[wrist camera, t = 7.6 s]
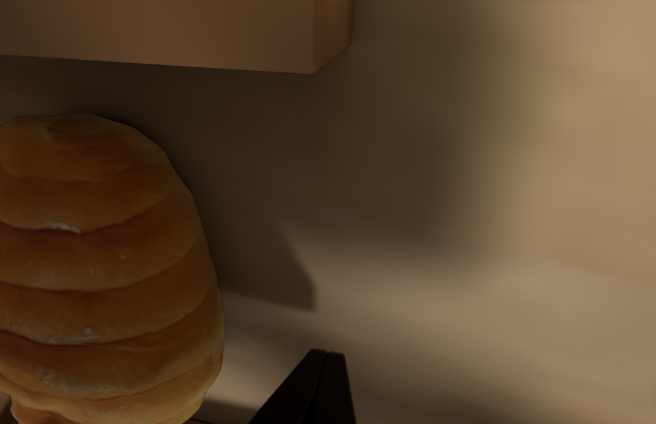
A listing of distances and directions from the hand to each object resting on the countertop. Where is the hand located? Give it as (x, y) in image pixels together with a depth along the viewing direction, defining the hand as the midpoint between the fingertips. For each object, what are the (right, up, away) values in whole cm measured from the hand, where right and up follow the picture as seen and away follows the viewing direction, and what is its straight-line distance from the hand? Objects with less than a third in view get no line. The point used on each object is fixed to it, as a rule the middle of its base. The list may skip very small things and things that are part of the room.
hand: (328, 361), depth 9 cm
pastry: (-6, +2, +2) cm, 7 cm away
